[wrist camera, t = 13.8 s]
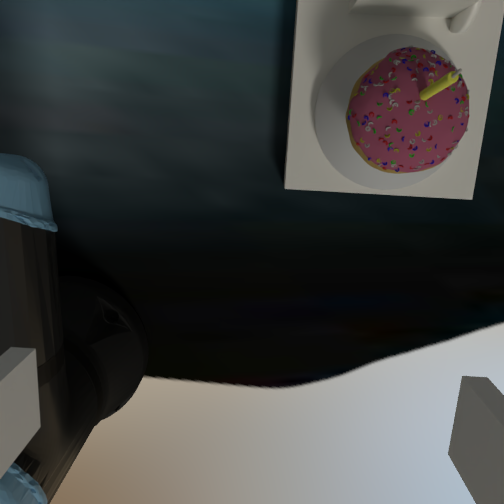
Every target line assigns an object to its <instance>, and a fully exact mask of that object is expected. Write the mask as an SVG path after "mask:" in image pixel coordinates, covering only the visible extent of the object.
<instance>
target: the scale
mask: <svg viewBox="0 0 504 504" xmlns="http://www.w3.org/2000/svg"><path fill="white" fill-rule="evenodd" d="M503 15H504V0H297V2H296V16H295V30H294V45H293V59H292V73H291V87H290V101H289V115H288V130H287V144H286V158H285V172H284V188H285V189H298V190H315V191H332V192H349V193H367V194H384V195H401V196H418V197H436V198H453V199H470V200H472V197H473V191H474V185H475V179H476V173H477V168H478V162H479V156H480V150H481V144H482V138H483V132H484V126H485V121H486V115H487V109H488V103H489V97H490V91H491V85H492V79H493V73H494V68H495V62H496V56H497V50H498V44H499V38H500V32H501V26H502V20H503ZM411 45H412V46H413V47H417V48H423V49H428V50H429V51H431V50H434V51H435V54H437V55H439V56H441V57H443V58H445V59H448V61H451V63H452V65H453V66H454V67H455V68H456V69H457V70H458V69H460V68H461V69H462V71H461V75H462V77H463V79H464V81H465V83H466V86H467V89H468V90H469V115H470V116H469V120H468V125H467V128H468V131H467V132H466V131H465V133H464V135H463V137H462V138H461V140H460V141H459V143H458V147H457V146H456V147H457V149H454V150H453V151H452V152H451V153H452V154H451V155H449V156H448V157H447V158H446V159H445V160H444V161H443V162H442V163H441V164H439V165H437V166H435V167H433V168H430V169H427V170H424V171H419V172H411V173H401V174H394V173H387V172H383V171H380V170H378V169H375V168H373V167H371V166H370V165H368V164H367V163H366V162H365V161H364V160H363V159H362V158H361V156H360V155H359V154H358V153H357V152H356V151H355V150H354V148H353V147H352V144H351V142H350V138H349V133H348V129H347V124H346V118H345V115H346V111H347V108H348V104H349V99H350V95H351V92H352V89H353V87H354V85H355V83H356V81H357V80H358V79H359V77H360V76H361V75H362V74H363V73H364V72H366V71H367V70H368V69H369V68H370V67H371V66H372V65H373V64H374V63H376V62H378V61H379V60H381V59H383V58H385V57H386V56H387V55H388V53H390V52H391V51H393V50H396V49H400V48H404V47H408V46H411ZM434 51H432V52H433V53H434ZM466 130H467V129H466ZM456 147H455V148H456Z"/></svg>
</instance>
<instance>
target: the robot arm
mask: <svg viewBox="0 0 504 504" xmlns="http://www.w3.org/2000/svg"><path fill="white" fill-rule="evenodd" d="M56 231H58V228H57V224H56V223H55V222H54V221H53V215H52V209H51V202H50V194H49V187H48V181H47V178H46V175H45V174H44V172H43V170H42V169H41V168H40V167H39V166H38V165H37V164H36V163H35V162H33V161H32V160H30V159H28V158H26V157H23V156H19V155H13V154H4V153H0V504H50V502H51V500H52V498H53V497H54V495H55V493H56V492H57V490H58V488H59V486H60V484H61V483H62V481H63V479H64V478H65V476H66V474H67V473H68V471H69V469H70V467H71V466H72V464H73V462H74V461H75V459H76V457H77V455H78V453H79V452H80V450H81V448H82V447H83V445H84V443H85V442H86V440H87V438H88V436H89V434H90V433H91V431H92V429H93V428H94V426H96V425H97V424H98V423H99V422H100V421H101V420H103V419H105V418H107V417H109V416H111V415H112V414H114V413H115V412H117V411H118V410H119V409H121V408H122V407H123V406H124V405H125V404H126V403H127V402H128V401H129V399H130V398H131V397H132V396H133V394H134V393H135V391H136V389H137V388H138V385H139V384H140V382H141V380H142V378H143V376H144V373H145V370H146V367H147V363H148V352H149V351H148V340H147V335H146V332H145V329H144V326H143V324H142V322H141V320H140V318H139V316H138V315H137V313H136V311H135V310H134V309H133V307H132V306H131V305H130V304H129V303H128V302H127V301H126V300H125V299H124V298H123V297H122V296H121V295H120V294H118V293H117V292H116V291H114V290H113V289H111V288H110V287H108V286H106V285H104V284H102V283H100V282H97V281H95V280H92V279H88V278H84V277H79V276H58V263H57V249H56V236H55V232H56ZM448 455H449V456H450V458H451V460H452V462H453V464H454V465H455V467H456V469H457V471H458V472H459V474H460V476H461V478H462V479H463V481H464V483H465V485H466V487H467V488H468V490H469V492H470V494H471V495H472V497H473V499H474V501H475V503H476V504H504V395H503V394H502V393H501V392H500V391H499V390H498V389H497V387H496V386H495V385H494V384H493V383H492V382H491V381H490V380H489V379H488V378H487V377H470V376H462V380H461V385H460V392H459V397H458V402H457V407H456V413H455V419H454V424H453V430H452V435H451V441H450V446H449V452H448Z"/></svg>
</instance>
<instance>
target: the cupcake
mask: <svg viewBox="0 0 504 504" xmlns="http://www.w3.org/2000/svg"><path fill="white" fill-rule="evenodd" d="M432 51H434V50H431V51H429V50H428V49H423V48H417V47H413V46H412V45H411V46H408V47H404V48H400V49H396V50H393V51H391V52H390V53H388V55H387V56H386V57H385V58H383V59H381V60H379V61H378V62H376V63H374V64H373V65H372V66H371V67H370V68H369V69H368V70H367V71H366V72H364V73H363V74H362V75H361V76H360V77H359V79H358V80H357V81H356V83H355V85H354V87H353V89H352V92H351V95H350V99H349V104H348V108H347V111H346V115H345V118H346V124H347V129H348V133H349V138H350V142H351V144H352V147H353V148H354V150H355V151H356V152H357V153H358V154H359V155H360V156H361V158H362V159H363V160H364V161H365V162H366V163H367V164H368V165H370V166H371V167H373V168H375V169H378V170H380V171H383V172H387V173H394V174H401V173H411V172H419V171H424V170H427V169H430V168H433V167H435V166H437V165H439V164H441V163H442V162H443V161H444V160H445V159H446V158H447V157H448V156H449V155H451V154H452V153H451V152H452V151H453V150H454V149H457V147H458V143H459V141H460V140H461V138H462V137H463V135H464V133H465V131H466V132H467V131H468V128H467V125H468V120H469V116H470V115H469V90H468V89H467V86H466V83H465V81H464V79H463V77H462V75H461V71H462V69H461V68H460V69H458V70H457V69H456V68H455V67H454V66H453V65H452V63H451V61H448V59H445V58H443V57H441V56H439V55H437V54H435V51H434V53H433V52H432ZM466 129H467V130H466ZM456 146H457V147H456ZM455 147H456V148H455Z"/></svg>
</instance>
